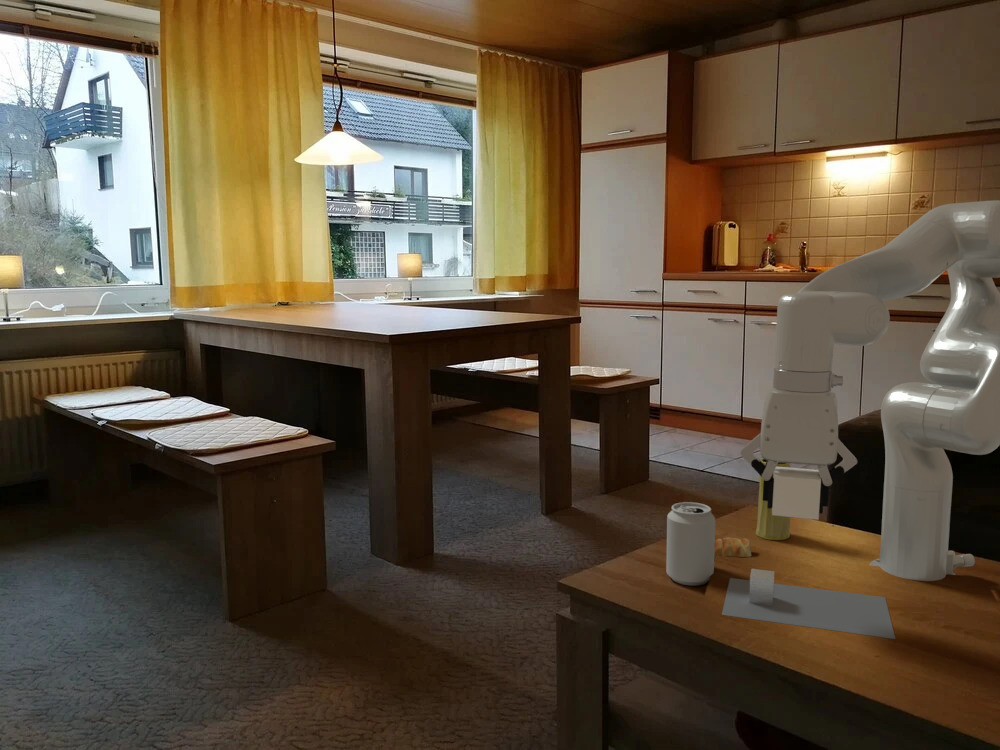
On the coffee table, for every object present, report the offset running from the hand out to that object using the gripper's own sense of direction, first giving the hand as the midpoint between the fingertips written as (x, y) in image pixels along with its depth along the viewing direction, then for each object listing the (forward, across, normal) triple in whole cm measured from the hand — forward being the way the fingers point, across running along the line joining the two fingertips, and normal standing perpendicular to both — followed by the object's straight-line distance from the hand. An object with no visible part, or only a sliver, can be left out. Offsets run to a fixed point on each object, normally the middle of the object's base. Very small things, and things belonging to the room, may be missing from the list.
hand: (794, 507), depth 112 cm
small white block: (+15, +4, -1) cm, 15 cm away
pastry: (+16, +9, -21) cm, 28 cm away
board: (+16, -2, -1) cm, 16 cm away
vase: (+16, +2, -36) cm, 39 cm away
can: (+16, +15, -10) cm, 24 cm away
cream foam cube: (+1, 0, 0) cm, 1 cm away
